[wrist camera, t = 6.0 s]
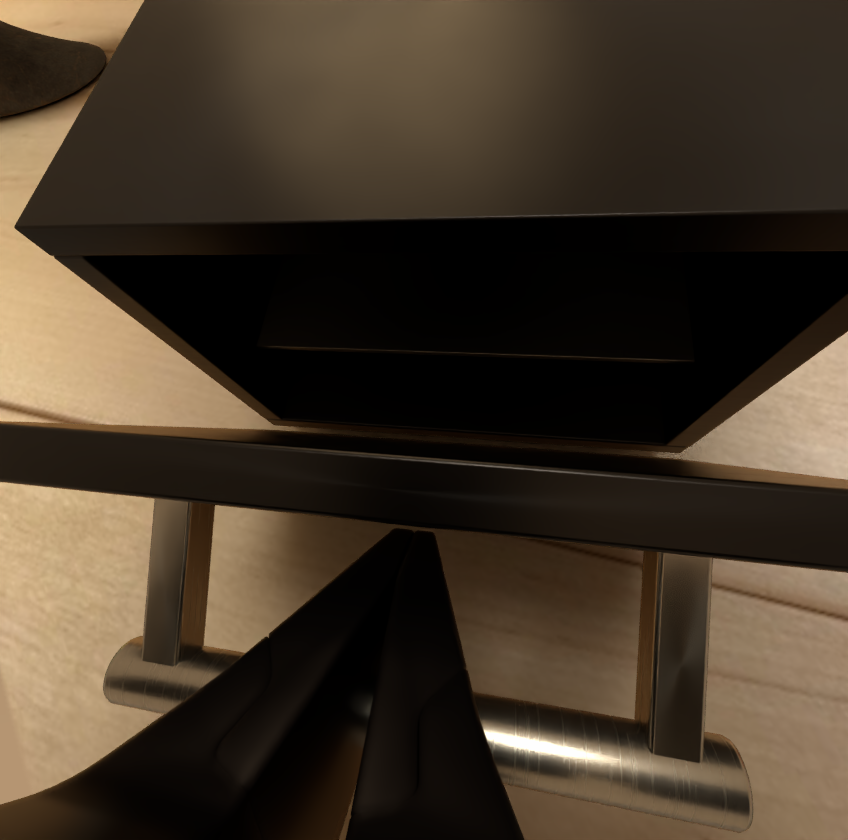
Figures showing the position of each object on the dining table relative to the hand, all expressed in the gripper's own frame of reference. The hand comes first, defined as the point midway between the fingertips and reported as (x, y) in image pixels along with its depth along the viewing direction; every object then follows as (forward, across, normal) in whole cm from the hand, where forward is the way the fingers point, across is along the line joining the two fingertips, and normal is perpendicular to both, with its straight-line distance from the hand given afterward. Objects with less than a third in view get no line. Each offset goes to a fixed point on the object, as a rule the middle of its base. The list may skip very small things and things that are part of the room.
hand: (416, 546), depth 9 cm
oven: (+14, 0, -1) cm, 15 cm away
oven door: (+7, 0, +4) cm, 8 cm away
